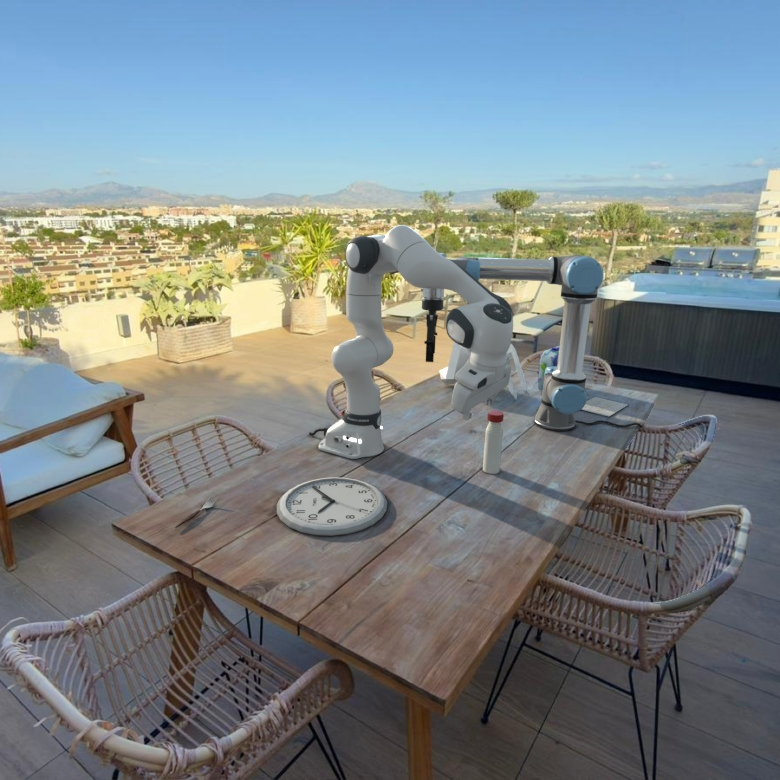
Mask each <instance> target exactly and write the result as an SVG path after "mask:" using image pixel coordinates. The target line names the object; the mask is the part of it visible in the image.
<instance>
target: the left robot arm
mask: <svg viewBox="0 0 780 780" xmlns="http://www.w3.org/2000/svg"><path fill="white" fill-rule="evenodd" d="M439 253H440V252H438V251H437V250H435V249H434V248H433V246H432V245H430V243H428V241H427V240H426V239H425V238H424V237H423V236H421V234H419V233H418V232H417V231H416V230H414V229H413V228H411V227H410V226H408V225H406V224H400V225H396V226H393V227H392V228H391V229H390V230H388V232H387V233H386V234H375V235H360V236H356V237H353V238H351V239H350V240H349V241H348V242H347V244H346V246H345V251H344V258H345V259H344V260H345V263H346V265H347V267H348V270H347V275H346V288H345V289H346V290H345V291H346V292H345V297H346V299H345V301H346V302H345V310H346V311H345V312H346V314H345V315H346V319H347V320H348V322H349V323H350V324H352V326H353V328H354V332H355V338H350V339H348V340H347V339H346V340H345V341H343V342H341V343H340V344H338V345H337V346H335V347H334V348H333V350H332V352H331V357H330V360H331V365H332V367H333V368H334V370H335V371H336V372H337V373H338V374H340V375H341V377H342V379H343V383H344V385H345V390H346V391H345V392H346V406H345V408H343V409H342V411H341V412H340V413H339V414H340V415H339V417H342V418H340V419H339V420H337V421H336V422H335V423H333V424H328V425H327V426H325V427H323V428H316V429H314V430H313V432H312V431H311V432H309V433H308V435H309V436H311V437H313V436H315V435H316V434H317V433H318V432H323V437H324V438H323V439H321V441H320V442H319V443H318V451H322V452H326V453H328V454H333V455H336V456H339V457H343V458H347V459H350V460H358V459H360V458H367V457H369V458H370V457H374V456H377V455H380V454H381V453H382V452H384V450H385V446H384V442H383V438H382V432H381V430H383V426H382V409H381V388H380V385H379V384H378V383H376V382H375V381H374V379H373V378H374V377H373V375H372V374H373V373H372V370H373V369H374V368H377V367H380V366H383V364H384V365H385V363H386V362H387V361H389V360H390V359H391V358H392V356H393V355H394V344H393V342H392V340H391V338H390V337H389V336H388V335H387V334H386V330H385V328H384V327H385V326H384V325H383V324H384V323H383V319H382V281H383V277H384V276H385V275H386V274H390V275H395V274H397V273H399V275H401V277H402V279H404V280H405V281H406V282H407V283H408V284H410V285H411V286H413V287H415V288H419V289H421V288H438V289H444V290H447V291H451V292H454V293H456V294H458V295H459V296H460V297H461V298H462V299H463V300H464V301H466V302H467V304H464V305H460V306H457V307H454V308H451V309H450V311H449V312H448V314H447V316H446V320H445V330H446V334H447V336H448V337H449V339H450V340H451V341H452V342H453V343H454V342H455V343H457V344H459V345H461V346H463V347H465V348H468V349H469V348H470V349H471V351H472V352H471V356H470V359H469V360H468V361H467V362H466V364H465V365H464V366H463V367H462V368H461V369H460V370H459V371H458V372H457V373H456V375H455V380H457V383H456V384H454V387H453V390H452V395H451V408H452V410H454V411H456V412H458V413H459V414H462V415H461V416H462V419H463V420H465V421H469V420H470V419H471V418H472V415H473V413H472V412H470V411H471V410H472V409H473V408H475V407H476V406H478V405H480V404H481V403H483V402H484V405H486V406H487V407H491V406H492V405H493V404H494V401H495V399H496V397H497V395H498V394H499V392H500V391H502V390H503V389H505V388H507V387H508V383H509V380H510V375H511V373H512V366H511V365H510V363H511V360H510V358H509V357H507V356H506V353H507V351H508V349H509V347H510V344H512V339H513V333H514V311H513V309H512V306H511V305H510V303H509V302H508V301H507V300H506V299H505V298H504V297H502V296H501V295H498V294H496V293H494V292H492V291H491V290H490V289H488V288H487V287H486V286H485V285H484V284H483V283H482V282H481V281H480V280H479V281H478V280H477V279H476V278H474V277H473V276H472V275H471V274H470V273H469V272H467V271H466V270H465V269H464V268H462V267H461V266H460V265H458V264H456V263H455V262H453V261H450V260H451V259H450V258H449V259H450V260H449V259H448V258H447V257H446V258H445V257H444V256H442V255H441V254H439Z"/></svg>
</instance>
